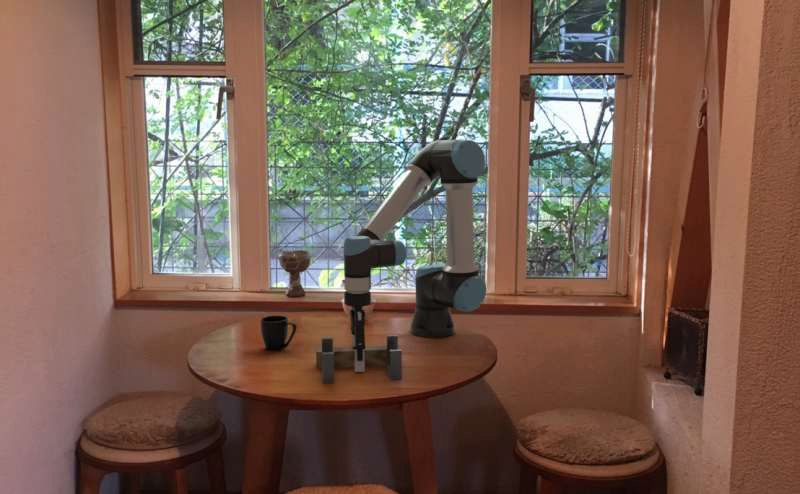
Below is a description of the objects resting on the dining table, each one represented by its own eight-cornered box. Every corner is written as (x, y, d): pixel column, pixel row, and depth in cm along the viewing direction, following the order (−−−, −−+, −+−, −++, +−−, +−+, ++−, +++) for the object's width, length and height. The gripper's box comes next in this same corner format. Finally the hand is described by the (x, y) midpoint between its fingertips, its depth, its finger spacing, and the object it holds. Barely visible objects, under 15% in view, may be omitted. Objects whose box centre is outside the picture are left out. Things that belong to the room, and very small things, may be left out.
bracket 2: (397, 369, 176) (397, 334, 175) (401, 379, 168) (401, 343, 167) (386, 369, 176) (386, 335, 174) (390, 380, 168) (390, 343, 166)
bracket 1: (333, 372, 174) (332, 337, 172) (334, 382, 165) (333, 346, 164) (322, 372, 173) (321, 337, 172) (322, 383, 165) (322, 346, 164)
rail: (398, 361, 184) (398, 345, 183) (400, 365, 180) (400, 349, 180) (316, 364, 181) (316, 348, 180) (316, 369, 177) (316, 352, 176)
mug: (287, 355, 188) (286, 324, 187) (256, 349, 194) (255, 320, 193) (303, 348, 196) (302, 318, 194) (273, 343, 201) (272, 314, 200)
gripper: (341, 282, 189) (342, 351, 192) (347, 300, 165) (347, 378, 168) (366, 282, 190) (366, 350, 193) (375, 300, 166) (375, 377, 169)
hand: (357, 363), depth 180 cm, fingers open, 12 cm apart
